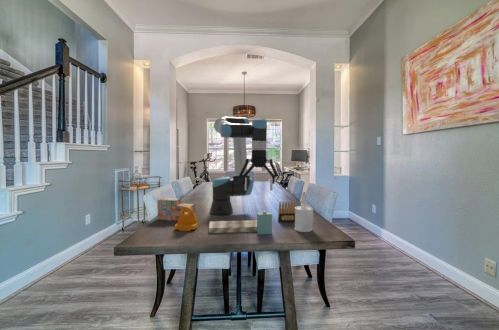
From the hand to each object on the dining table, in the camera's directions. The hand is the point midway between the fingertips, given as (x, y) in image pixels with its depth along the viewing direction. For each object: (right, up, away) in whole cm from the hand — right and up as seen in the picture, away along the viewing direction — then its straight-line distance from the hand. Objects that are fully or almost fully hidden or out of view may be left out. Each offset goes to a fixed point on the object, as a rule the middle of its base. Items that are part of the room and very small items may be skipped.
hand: (258, 190), depth 135 cm
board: (-10, -21, +3) cm, 23 cm away
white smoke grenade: (+24, -21, 0) cm, 32 cm away
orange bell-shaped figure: (-38, -21, +2) cm, 44 cm away
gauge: (+2, -21, +1) cm, 21 cm away
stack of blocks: (-49, -20, +20) cm, 56 cm away
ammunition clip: (+17, -20, +15) cm, 31 cm away
